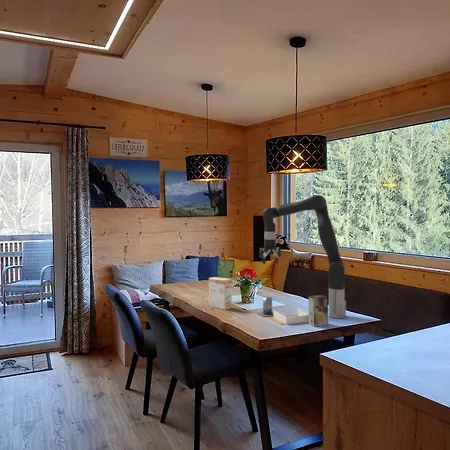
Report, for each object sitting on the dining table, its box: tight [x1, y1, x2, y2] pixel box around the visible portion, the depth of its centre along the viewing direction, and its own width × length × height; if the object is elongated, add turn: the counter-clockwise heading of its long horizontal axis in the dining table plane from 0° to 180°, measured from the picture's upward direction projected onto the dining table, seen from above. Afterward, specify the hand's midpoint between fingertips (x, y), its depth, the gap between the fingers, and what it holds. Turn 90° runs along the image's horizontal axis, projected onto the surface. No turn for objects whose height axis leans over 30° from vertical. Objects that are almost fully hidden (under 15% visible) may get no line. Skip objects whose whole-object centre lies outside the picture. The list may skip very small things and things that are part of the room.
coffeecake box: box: [208, 276, 233, 311], centre depth 288 cm, size 15×7×20 cm, turn 44°
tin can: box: [262, 296, 273, 315], centre depth 268 cm, size 6×6×10 cm
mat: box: [256, 311, 274, 318], centre depth 268 cm, size 10×10×1 cm
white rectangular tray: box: [268, 308, 309, 325], centre depth 257 cm, size 23×18×4 cm
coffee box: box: [308, 294, 329, 327], centre depth 244 cm, size 9×6×16 cm
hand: (270, 263), depth 279 cm, fingers open, 8 cm apart
